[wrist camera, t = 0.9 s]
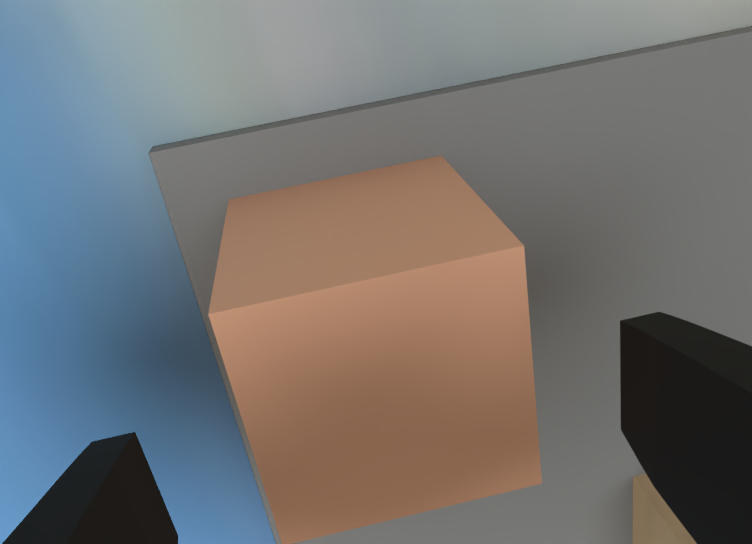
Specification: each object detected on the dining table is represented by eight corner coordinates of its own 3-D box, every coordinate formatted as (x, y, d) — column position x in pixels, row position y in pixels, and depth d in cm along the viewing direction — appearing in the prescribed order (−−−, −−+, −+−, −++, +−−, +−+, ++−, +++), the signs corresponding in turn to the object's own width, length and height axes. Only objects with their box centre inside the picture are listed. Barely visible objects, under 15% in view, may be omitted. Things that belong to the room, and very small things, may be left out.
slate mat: (929, -10, 14) (950, -9, 14) (819, 583, 23) (830, 596, 22) (152, 146, 13) (148, 153, 13) (333, 708, 22) (335, 724, 21)
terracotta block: (440, 155, 14) (523, 245, 9) (464, 336, 16) (542, 483, 11) (228, 199, 14) (208, 314, 9) (278, 378, 16) (282, 545, 11)
